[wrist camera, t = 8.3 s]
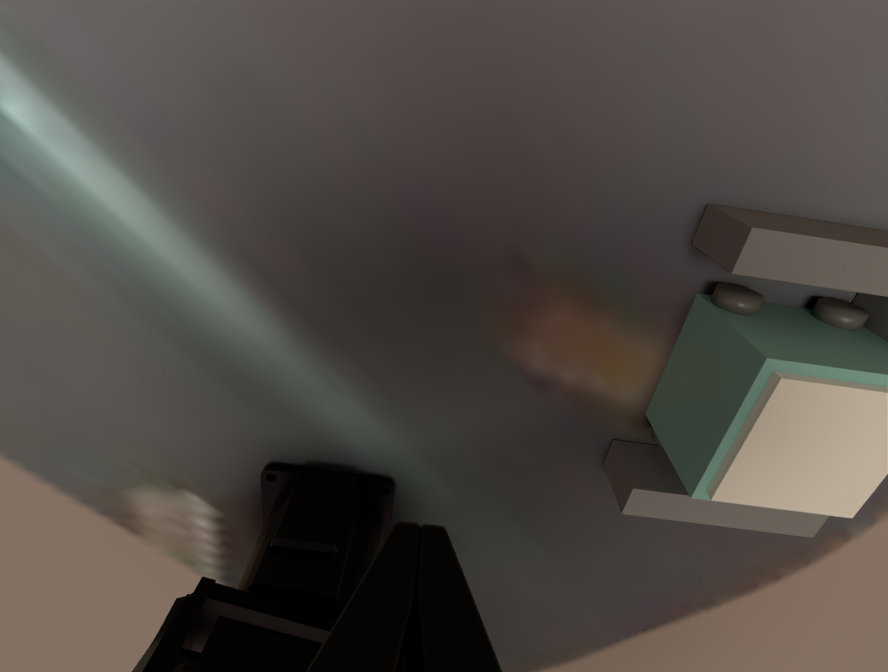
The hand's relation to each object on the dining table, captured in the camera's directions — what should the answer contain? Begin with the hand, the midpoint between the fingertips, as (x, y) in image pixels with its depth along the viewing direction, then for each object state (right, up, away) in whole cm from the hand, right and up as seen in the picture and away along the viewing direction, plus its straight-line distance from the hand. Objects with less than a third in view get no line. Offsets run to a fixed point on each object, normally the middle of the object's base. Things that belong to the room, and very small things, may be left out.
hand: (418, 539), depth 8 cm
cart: (+13, +2, +12) cm, 18 cm away
